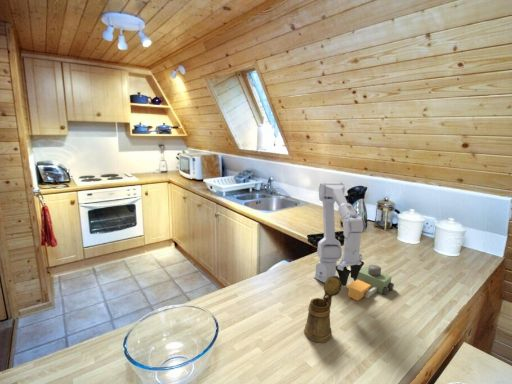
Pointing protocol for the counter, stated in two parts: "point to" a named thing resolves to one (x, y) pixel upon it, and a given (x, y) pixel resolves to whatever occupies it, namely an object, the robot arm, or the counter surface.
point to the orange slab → (358, 289)
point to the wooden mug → (322, 312)
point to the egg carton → (317, 237)
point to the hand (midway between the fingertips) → (348, 281)
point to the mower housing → (375, 280)
